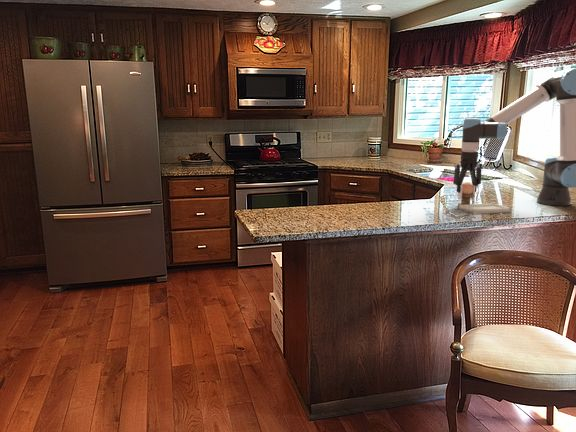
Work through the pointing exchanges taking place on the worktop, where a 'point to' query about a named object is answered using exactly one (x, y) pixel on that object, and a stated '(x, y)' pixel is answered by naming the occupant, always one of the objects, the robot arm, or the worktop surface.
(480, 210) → the tray
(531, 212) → the worktop surface
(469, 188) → the ball
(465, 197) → the pedestal
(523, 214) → the worktop surface
